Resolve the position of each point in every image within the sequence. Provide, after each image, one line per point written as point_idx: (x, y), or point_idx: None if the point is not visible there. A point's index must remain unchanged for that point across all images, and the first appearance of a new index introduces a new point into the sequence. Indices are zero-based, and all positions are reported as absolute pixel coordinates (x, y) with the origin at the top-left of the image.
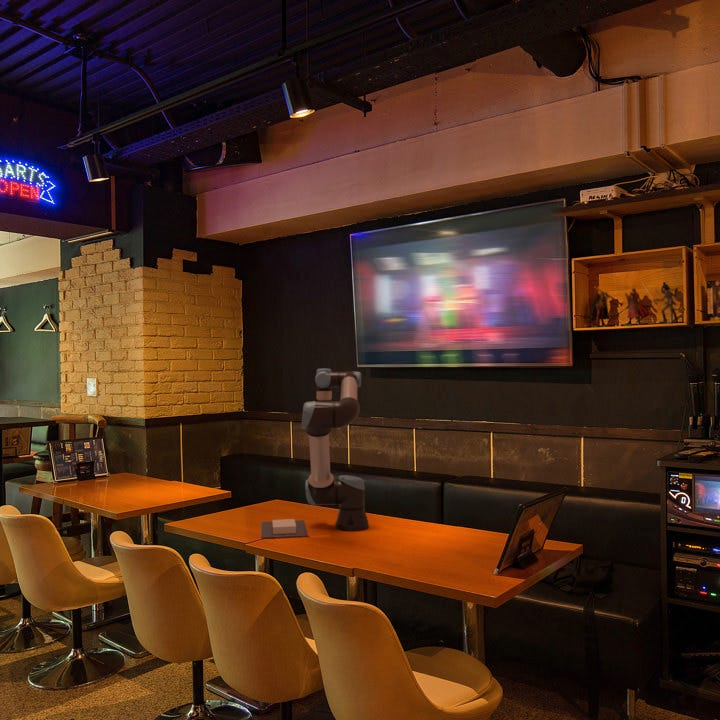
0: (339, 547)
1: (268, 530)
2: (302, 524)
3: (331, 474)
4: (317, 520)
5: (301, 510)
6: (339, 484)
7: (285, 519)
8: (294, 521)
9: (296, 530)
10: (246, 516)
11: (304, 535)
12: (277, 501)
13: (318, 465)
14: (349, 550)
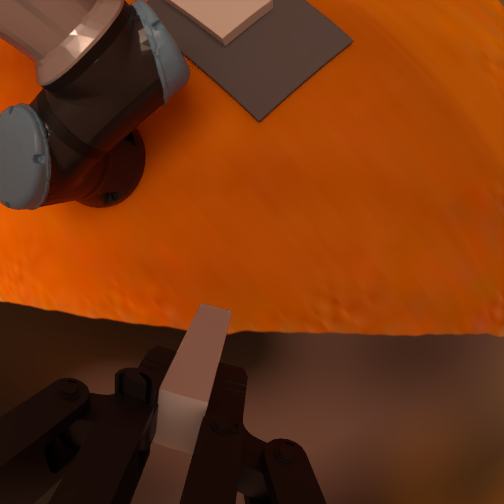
0: None
1: None
2: (221, 74)
3: (38, 76)
4: (244, 171)
5: (387, 266)
6: (35, 98)
7: (242, 20)
8: (199, 18)
9: (187, 20)
10: (461, 112)
11: None
12: (500, 322)
13: None
14: None
